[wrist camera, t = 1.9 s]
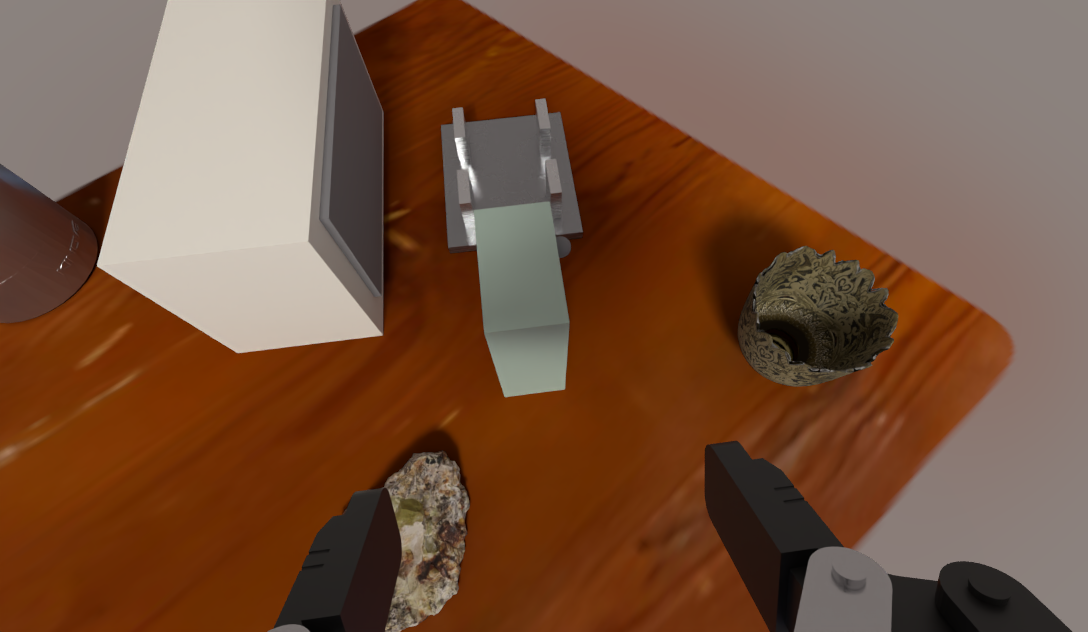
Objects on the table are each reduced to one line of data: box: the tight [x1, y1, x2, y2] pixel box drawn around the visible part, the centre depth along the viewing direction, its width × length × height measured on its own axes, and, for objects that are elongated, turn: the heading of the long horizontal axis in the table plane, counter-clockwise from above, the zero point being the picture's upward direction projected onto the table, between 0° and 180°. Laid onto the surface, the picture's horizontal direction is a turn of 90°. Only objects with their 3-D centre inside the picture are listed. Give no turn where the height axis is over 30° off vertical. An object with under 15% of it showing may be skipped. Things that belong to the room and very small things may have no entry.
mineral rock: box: [342, 450, 470, 632], centre depth 30 cm, size 11×4×8 cm
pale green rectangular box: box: [474, 201, 571, 397], centre depth 30 cm, size 5×7×11 cm
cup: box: [738, 246, 898, 386], centre depth 31 cm, size 8×7×8 cm
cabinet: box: [97, 0, 384, 353], centre depth 34 cm, size 10×21×12 cm, turn 7°
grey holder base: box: [441, 99, 583, 253], centre depth 39 cm, size 10×12×4 cm
